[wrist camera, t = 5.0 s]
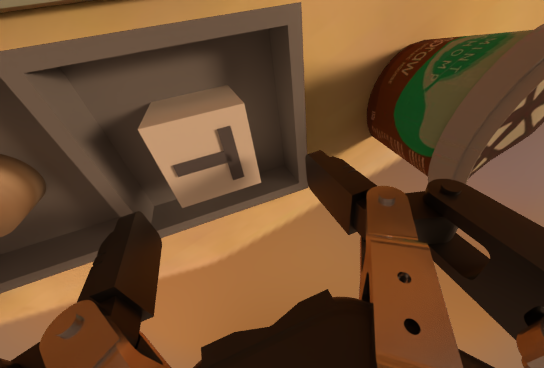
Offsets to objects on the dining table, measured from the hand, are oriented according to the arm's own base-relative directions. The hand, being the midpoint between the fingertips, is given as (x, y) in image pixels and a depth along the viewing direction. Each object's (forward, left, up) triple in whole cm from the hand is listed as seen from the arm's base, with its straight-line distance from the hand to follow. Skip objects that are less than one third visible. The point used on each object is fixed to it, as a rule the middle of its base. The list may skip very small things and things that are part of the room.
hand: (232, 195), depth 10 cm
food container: (-1, +17, -8) cm, 19 cm away
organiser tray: (-1, -7, -8) cm, 10 cm away
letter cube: (-1, -1, -7) cm, 7 cm away
